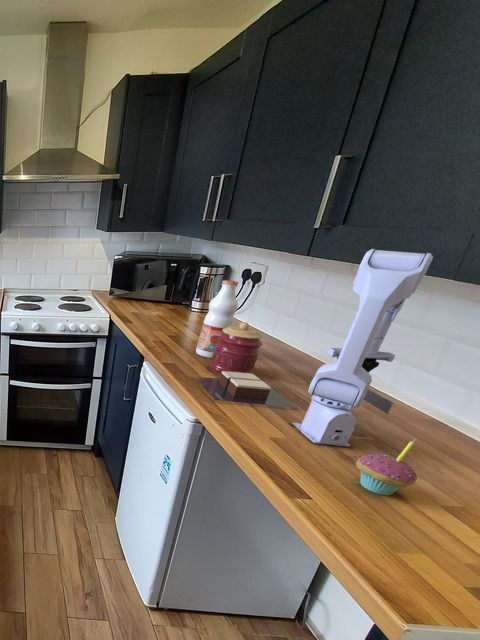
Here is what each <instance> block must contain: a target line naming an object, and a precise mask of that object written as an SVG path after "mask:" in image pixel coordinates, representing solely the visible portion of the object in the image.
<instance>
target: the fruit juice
mask: <svg viewBox="0 0 480 640" xmlns="http://www.w3.org/2000/svg"><path fill="white" fill-rule="evenodd" d="M238 285H239V282H238V281H236V280H229V279H228V280H227V279H223V280H222V282H221V288H220V290H219V291H218V293H217V294H216V295H215V296H214V297H213V298H212V299H210V301H209V304H208V311H207V313H206V315H205V317H204V320H203V322H202V327H201V330H200V333H199V336H198V341H197V344H196V348H195V354H196V355H198V356H200V357H203V358H208V359H211V358H212V355H213V352H214V348H215V344H216V343H217V342H218V340H219V339H218V335H219V334H222V333H223V331H222V330H223V329H224V328H227V327H229V326H234V322H235V321H234V320H235V316H234V315H235V313H236V312H237V311H238V307H239V302H238V300H237V297H236V289H237V287H238Z"/></svg>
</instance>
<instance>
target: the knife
mask: <svg viewBox="0 0 480 640" xmlns="http://www.w3.org/2000/svg"><path fill="white" fill-rule="evenodd" d="M363 401H365V402H367V403H369V404H370V405H372V406H373V407H376V408H377V409H378V410H380V411H382V412H384V413H385V414H389V413H390V411H391V409H392V407H393V405H394V404H395V403H394V401H392V400H390V399H388V398H386V397H385V396H383V395H381V394H379V393H377V392H375V391H374V390H372V389H370V388H369V389H368V391H367V394H366V396H365V398H364V399H363Z"/></svg>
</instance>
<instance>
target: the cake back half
mask: <svg viewBox="0 0 480 640" xmlns="http://www.w3.org/2000/svg"><path fill="white" fill-rule="evenodd" d="M219 379H220V380H219V383H220V384H221V385H222V386H223V387H224V388H225V389H227V388H228V385H229V382H230V379H242V380H254V381H261V379H260V378H259V377H258V376H257V375H256V374H254V373H252V374H250V373H238V372H227V371H222V374H220V377H219Z"/></svg>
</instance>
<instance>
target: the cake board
mask: <svg viewBox="0 0 480 640" xmlns="http://www.w3.org/2000/svg"><path fill="white" fill-rule="evenodd" d="M193 378H194V380H195V381H196V382H197V383H198V384H199V385H200V386H201V387H202V388H203V389H204V390H205V391H206V392H207V394H209V395H210V397H211V398H212V399H213V400H214V401H216V402H217V401H219V402H227V403H239V404H248V405H249V404H250V405H260V406H271V407H282V408H293V409H298V406H296V405H295V404H293V403H292V402H291V401H290V400H288V399H287V398H286V397H284V396H283V395H282V394H280V393H279V392H278V391H277V390H275V389H274V388H273V387H271V386H270V385H268V386H269V387H271V389H270V392H269V395H268V397H267V400H261V399H250V398H239V397H233V396H232V395H231V394H230V393H229V392H228V391H227V389H225V388H224V387H223V386H222V385H221V384H220V383H219V380H220V378H216V377H214V378H213V377H205V376H203V377H202V376H193Z"/></svg>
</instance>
